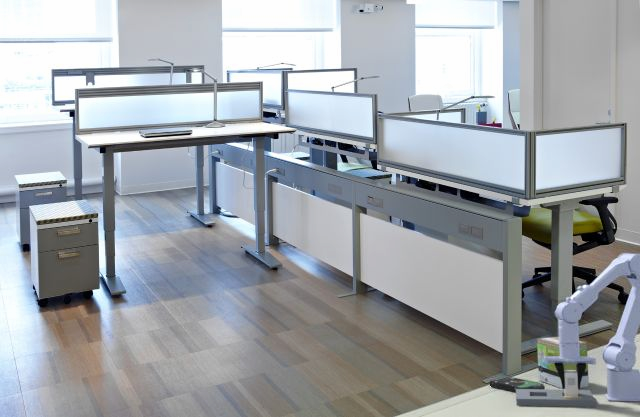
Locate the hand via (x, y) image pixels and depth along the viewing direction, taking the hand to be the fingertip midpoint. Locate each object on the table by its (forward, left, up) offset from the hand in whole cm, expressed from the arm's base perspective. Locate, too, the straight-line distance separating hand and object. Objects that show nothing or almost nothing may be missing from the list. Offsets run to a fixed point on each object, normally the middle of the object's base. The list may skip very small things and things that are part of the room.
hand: (571, 388), depth 230 cm
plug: (0, 0, -3) cm, 3 cm away
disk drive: (+16, -17, -5) cm, 24 cm away
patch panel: (+5, 0, -4) cm, 6 cm away
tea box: (+1, -26, -4) cm, 26 cm away
